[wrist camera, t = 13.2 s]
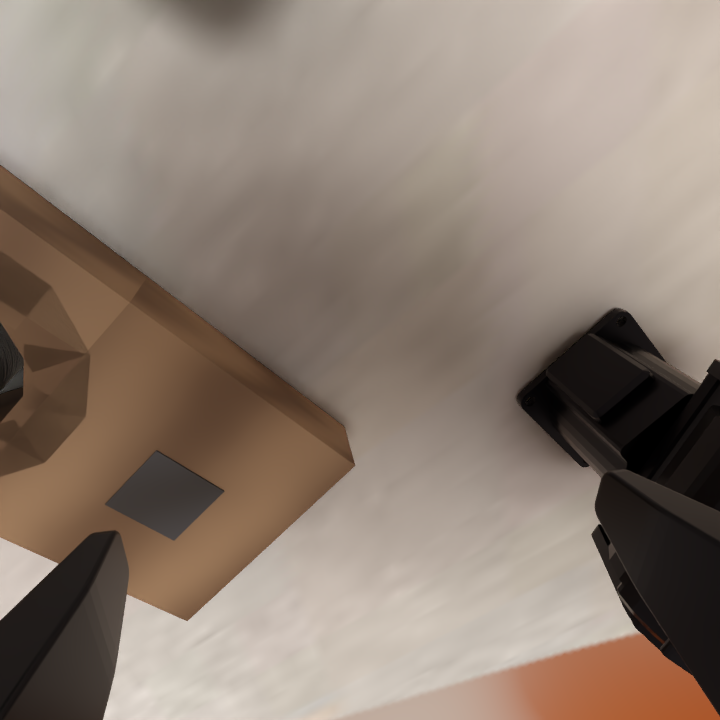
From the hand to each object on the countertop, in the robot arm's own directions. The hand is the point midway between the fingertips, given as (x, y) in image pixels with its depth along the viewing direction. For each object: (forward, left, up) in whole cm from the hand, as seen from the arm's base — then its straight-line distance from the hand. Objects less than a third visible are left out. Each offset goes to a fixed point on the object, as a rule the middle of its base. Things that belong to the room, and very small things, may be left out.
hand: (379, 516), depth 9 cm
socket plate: (+4, +9, -13) cm, 16 cm away
